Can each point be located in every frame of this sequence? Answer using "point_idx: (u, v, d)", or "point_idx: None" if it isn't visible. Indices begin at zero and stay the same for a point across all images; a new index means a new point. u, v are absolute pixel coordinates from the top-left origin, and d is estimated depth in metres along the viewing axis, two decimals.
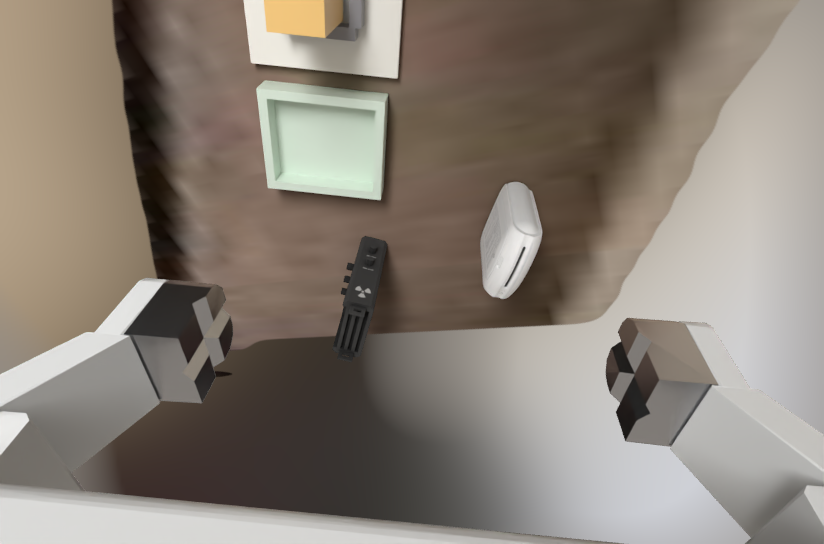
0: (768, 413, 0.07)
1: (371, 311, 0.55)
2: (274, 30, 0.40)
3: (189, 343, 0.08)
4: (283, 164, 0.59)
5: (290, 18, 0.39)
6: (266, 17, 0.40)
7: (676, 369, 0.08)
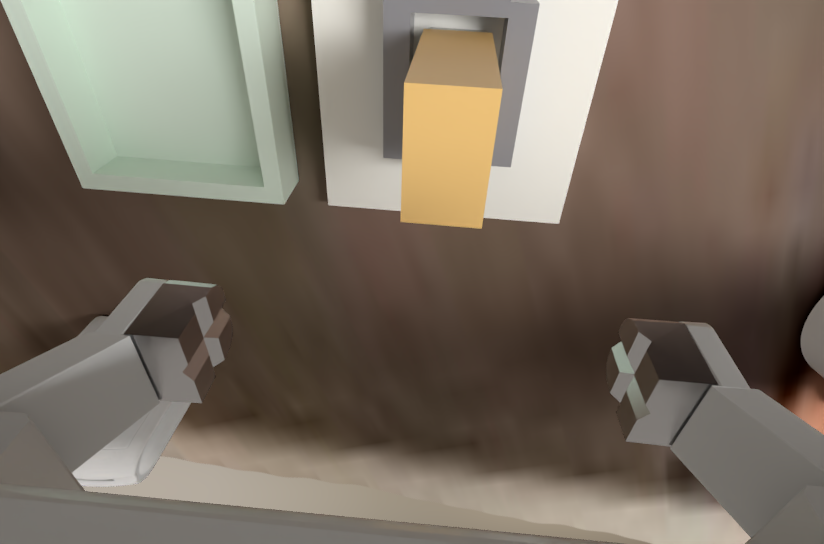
0: (768, 413, 0.07)
1: None
2: (409, 106, 0.15)
3: (189, 343, 0.08)
4: None
5: (439, 152, 0.16)
6: (439, 87, 0.14)
7: (676, 369, 0.08)
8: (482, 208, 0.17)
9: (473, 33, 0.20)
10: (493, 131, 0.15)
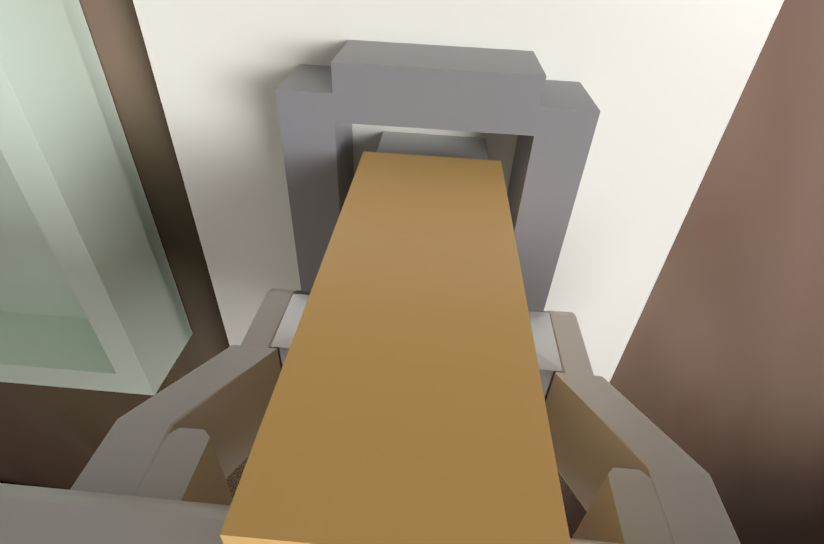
0: (602, 399, 0.07)
1: None
2: None
3: None
4: None
5: None
6: None
7: None
8: None
9: (463, 165, 0.10)
10: None
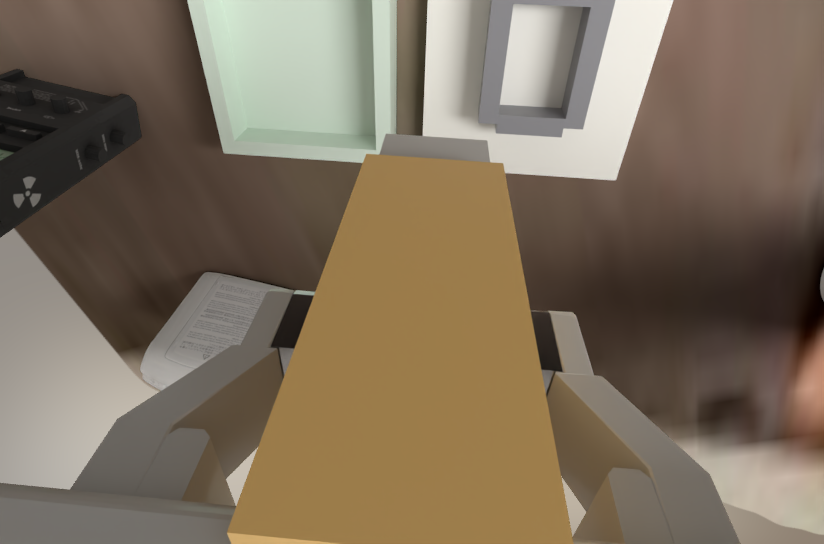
0: (602, 399, 0.07)
1: None
2: None
3: None
4: None
5: None
6: None
7: None
8: None
9: (465, 167, 0.10)
10: None
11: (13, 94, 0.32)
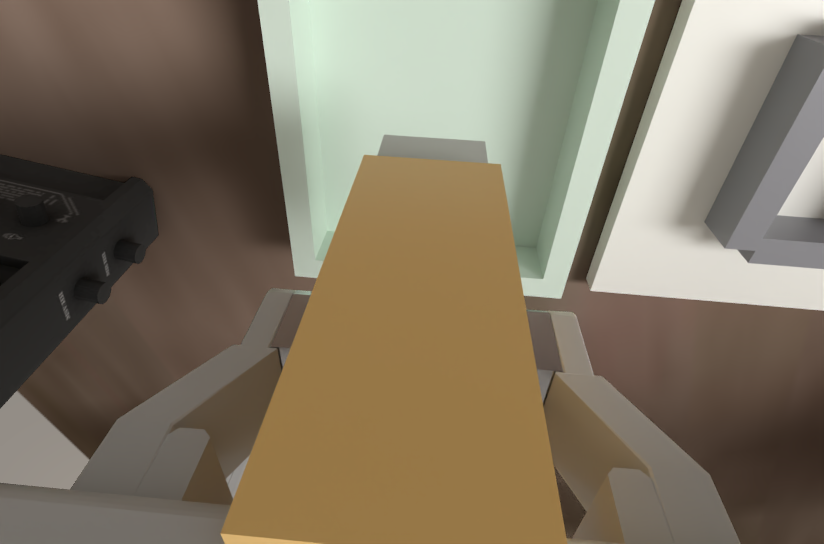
0: (602, 399, 0.07)
1: None
2: None
3: None
4: None
5: None
6: None
7: None
8: None
9: (462, 168, 0.10)
10: None
11: None
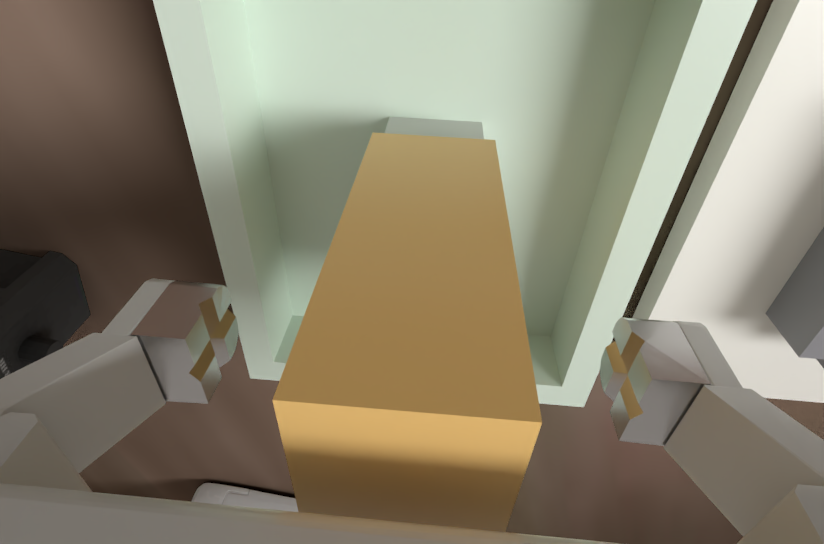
0: (760, 413, 0.07)
1: None
2: (296, 437, 0.06)
3: (196, 344, 0.08)
4: None
5: (383, 504, 0.07)
6: (370, 411, 0.05)
7: (669, 368, 0.08)
8: None
9: (461, 143, 0.11)
10: (514, 485, 0.06)
11: None
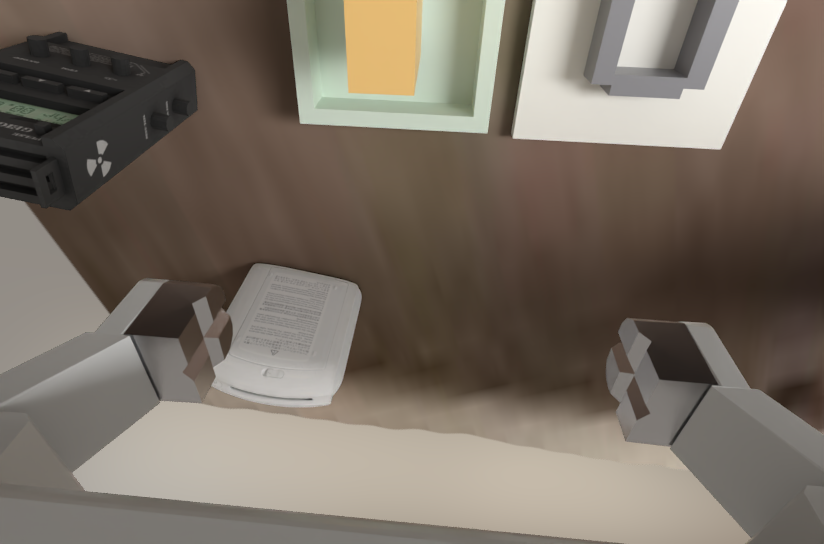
0: (768, 413, 0.07)
1: (63, 205, 0.23)
2: None
3: (189, 343, 0.08)
4: None
5: (374, 24, 0.20)
6: None
7: (676, 369, 0.08)
8: (412, 76, 0.21)
9: None
10: (414, 3, 0.19)
11: (63, 55, 0.28)
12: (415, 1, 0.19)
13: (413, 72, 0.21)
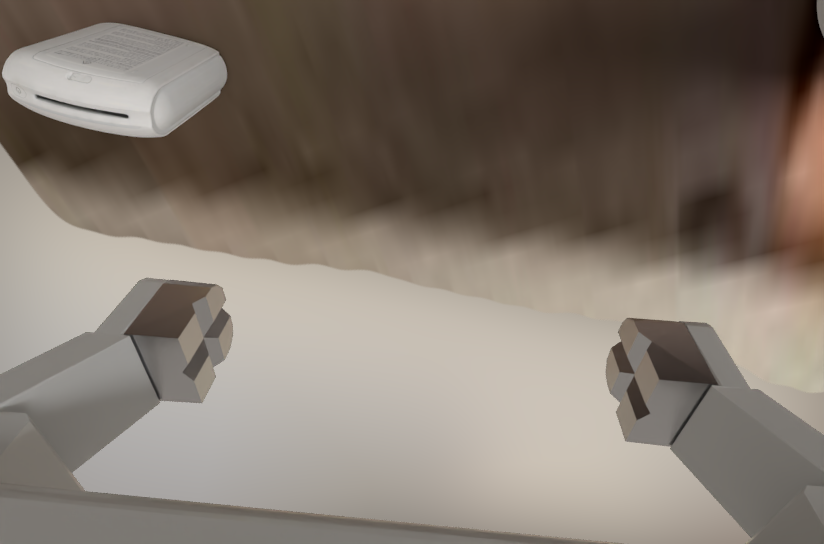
0: (769, 413, 0.07)
1: None
2: None
3: (189, 343, 0.08)
4: None
5: None
6: None
7: (676, 369, 0.08)
8: None
9: None
10: None
11: None
12: None
13: None
